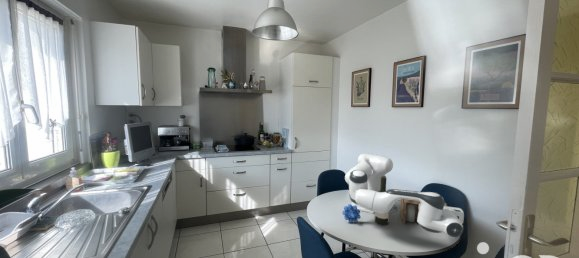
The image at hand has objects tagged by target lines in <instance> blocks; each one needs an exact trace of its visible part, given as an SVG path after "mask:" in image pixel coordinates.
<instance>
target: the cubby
mask: <svg viewBox="0 0 579 258" xmlns="http://www.w3.org/2000/svg"><path fill="white" fill-rule="evenodd" d="M406 203H412V204H415V219H417V218H418V212H419V204H420V201H416V200H408V199H400V207H399V208H400V209H399V217H400V220H401V222H402V223H401V224H404V225H405V224H406V220H405V217H406ZM445 205H446V206H448V204H447V203H446V202H445Z"/></svg>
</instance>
